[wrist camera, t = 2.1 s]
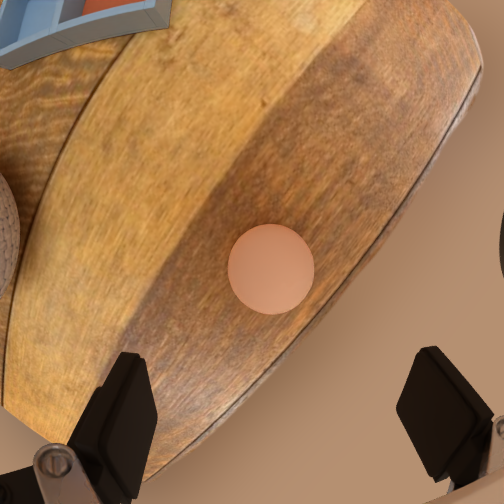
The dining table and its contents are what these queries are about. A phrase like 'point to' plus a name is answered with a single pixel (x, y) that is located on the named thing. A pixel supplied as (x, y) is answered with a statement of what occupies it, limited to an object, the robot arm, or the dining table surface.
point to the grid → (71, 25)
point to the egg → (270, 269)
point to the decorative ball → (8, 235)
